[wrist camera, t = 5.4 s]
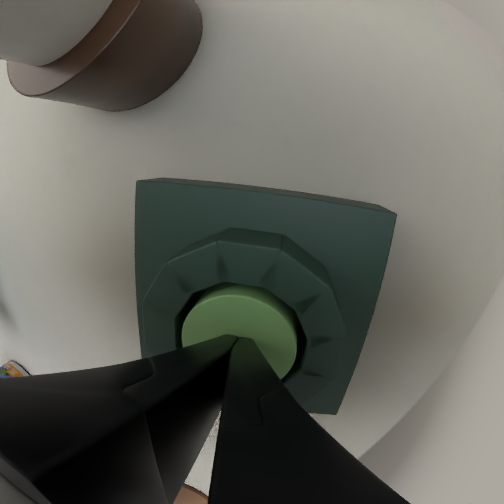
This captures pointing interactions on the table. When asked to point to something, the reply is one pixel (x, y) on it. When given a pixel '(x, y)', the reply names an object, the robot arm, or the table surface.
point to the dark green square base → (264, 269)
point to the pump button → (245, 321)
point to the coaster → (190, 496)
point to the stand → (119, 57)
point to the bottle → (45, 27)
